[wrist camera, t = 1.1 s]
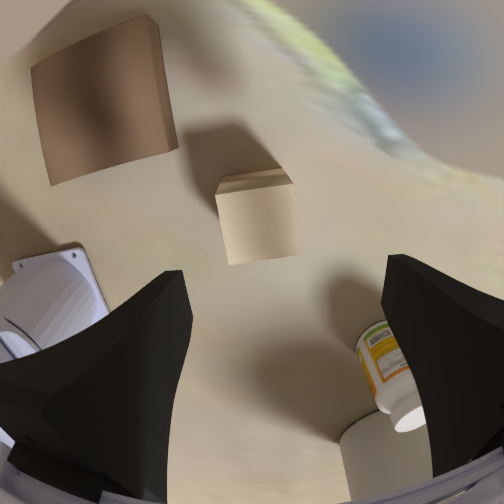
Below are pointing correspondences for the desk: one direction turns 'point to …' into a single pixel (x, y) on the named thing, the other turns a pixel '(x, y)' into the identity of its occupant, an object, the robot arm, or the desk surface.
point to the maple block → (258, 216)
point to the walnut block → (104, 101)
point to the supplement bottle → (390, 377)
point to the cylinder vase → (384, 457)
